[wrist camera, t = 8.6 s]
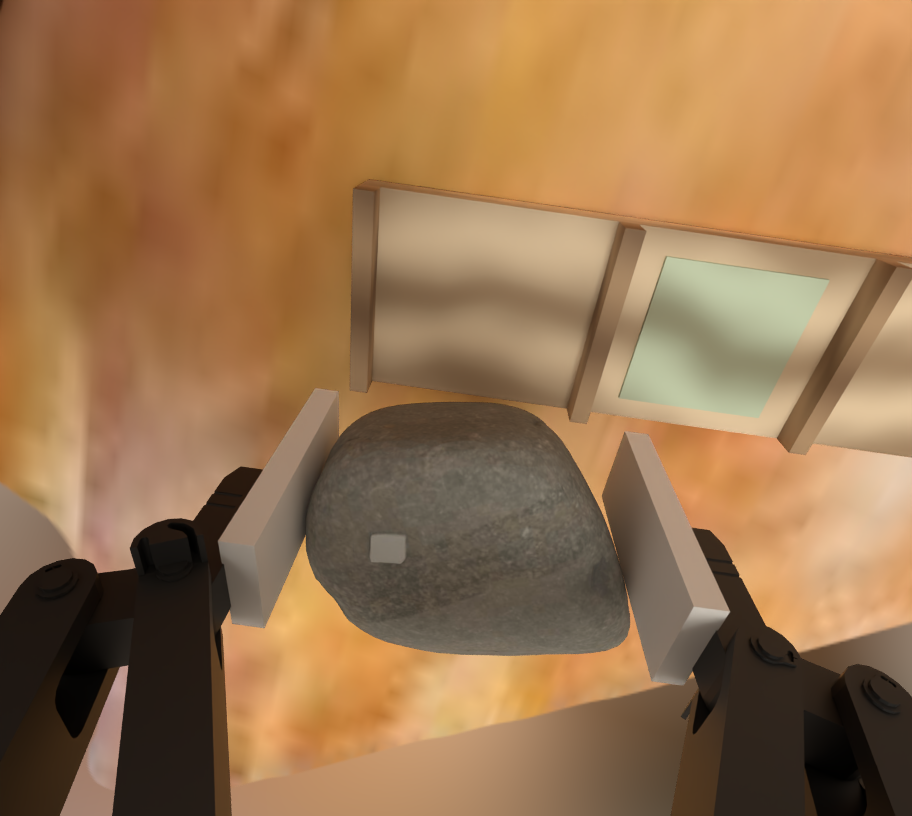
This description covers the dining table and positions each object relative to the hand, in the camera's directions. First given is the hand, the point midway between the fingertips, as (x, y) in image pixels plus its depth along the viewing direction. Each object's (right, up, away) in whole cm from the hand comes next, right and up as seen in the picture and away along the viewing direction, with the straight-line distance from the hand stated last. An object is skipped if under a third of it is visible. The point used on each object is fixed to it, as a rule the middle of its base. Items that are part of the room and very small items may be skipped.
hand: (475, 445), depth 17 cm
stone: (0, -2, +3) cm, 3 cm away
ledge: (+14, +6, +13) cm, 20 cm away
